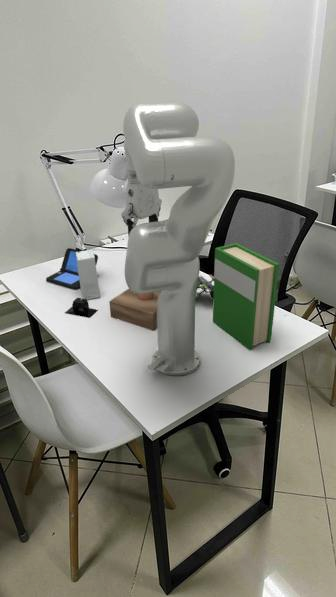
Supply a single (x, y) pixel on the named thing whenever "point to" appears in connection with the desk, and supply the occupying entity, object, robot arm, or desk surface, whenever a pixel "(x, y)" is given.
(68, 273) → the game console
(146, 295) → the beige rounded cylinder
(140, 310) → the walnut block
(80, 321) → the desk surface
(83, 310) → the build plate
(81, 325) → the desk surface
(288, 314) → the desk surface
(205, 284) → the passion flower
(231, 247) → the hardback book
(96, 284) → the skincare box
